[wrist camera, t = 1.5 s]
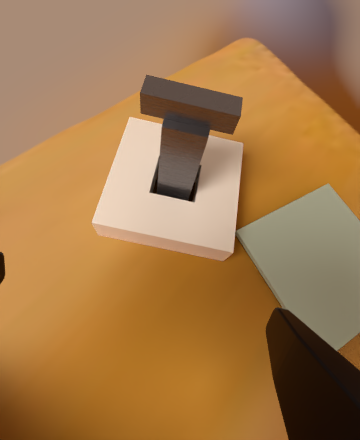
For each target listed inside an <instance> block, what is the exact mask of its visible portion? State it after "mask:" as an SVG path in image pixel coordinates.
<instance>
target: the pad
mask: <svg viewBox="0 0 360 440" xmlns="http://www.w3.org/2000/svg"><path fill="white" fill-rule="evenodd" d="M235 235H236V236H237V238H238V239H239V241H240V242H241V244H242V245H243V247H244V249H245V250H246V252H247V253H248V255H249V256H250V258H251V259H252V261H253V262H254V264H255V266H256V267H257V269H258V270H259V272H260V273H261V275H262V276H263V278H264V280H265V281H266V283H267V284H268V286H269V287H270V289H271V290H272V292H273V294H274V295H275V297H276V298H277V300H278V301H279V303H280V304H281V306H282V308H283V309H287V310H289V311H291V312H292V313H293V314H294V315H295V316H296V317H298V318H299V319H300V320H301V321H302V322H303V323H305V324H306V325H307V326H308V327H309V328H310V329H312V330H313V331H314V332H315V333H316V334H317V335H319V336H320V337H321V338H322V339H323V340H325V341H326V342H327V343H328V344H329V345H330V346H332V347H333V348H334V349H335V350H336V351H338V350H339V349H340V348H341V347H343V346H344V345H345V344H346V343H347V342H349V341H350V340H351V339H352V338H354V337H355V336H356V335H357V334H359V333H360V221H359V219H358V218H357V217H356V216H355V215H354V213H353V212H352V211H351V210H350V209H349V207H348V206H347V205H346V204H345V203H344V201H343V200H342V199H341V198H340V197H339V196H338V194H337V193H336V192H335V191H334V190H333V188H332V187H331V186H330V185H329V184H326V185H324V186H322V187H320V188H319V189H317V190H315V191H313V192H311V193H309V194H307V195H305V196H303V197H301V198H299V199H297V200H295V201H293V202H291V203H289V204H287V205H285V206H283V207H281V208H280V209H278V210H276V211H274V212H272V213H270V214H268V215H266V216H264V217H262V218H260V219H258V220H256V221H254V222H252V223H250V224H248V225H246V226H244V227H242V228H241V229H239V230H237V231H236V232H235Z"/></svg>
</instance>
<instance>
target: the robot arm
mask: <svg viewBox="0 0 360 440" xmlns="http://www.w3.org/2000/svg"><path fill="white" fill-rule="evenodd" d="M4 277H5V263H4V255H3V253H2V252H0V284H1V283H2V281H3V279H4ZM266 337H267V343H268V350H269V356H270V363H271V369H272V375H273V380H274V384H275V389H276V393H277V396H278V400H279V404H280V408H281V412H282V416H283V420H284V423H285V427H286V431H287V435H288V439H289V440H360V370H359V369H357V368H356V367H355V366H354V365H353V364H351V363H350V362H349V361H348V360H347V359H346V358H344V357H343V356H342V355H341V354H340V353H339V352H337V351H336V350H335V349H334V348H333V347H332V346H330V345H329V344H328V343H327V342H326V341H325V340H323V339H322V338H321V337H320V336H319V335H317V334H316V333H315V332H314V331H313V330H312V329H310V328H309V327H308V326H307V325H306V324H305V323H303V322H302V321H301V320H300V319H299V318H298V317H296V316H295V315H294V314H293V313H292V312H291V311H289V310H287V309H283V308H275V309H274V310H273V312H272V315H271V317H270V319H269V321H268V323H267V326H266Z"/></svg>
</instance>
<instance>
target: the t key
mask: <svg viewBox="0 0 360 440" xmlns="http://www.w3.org/2000/svg"><path fill="white" fill-rule="evenodd" d="M242 99H243V98H242V97H238V96H233V95H229V94H225V93H221V92H217V91H212V90H208V89H204V88H200V87H196V86H191V85H187V84H183V83H179V82H175V81H170V80H166V79H162V78H157V77H154V76H149V75H146V78H145V81H144V83H143V87H142V89H141V92H140V106H141V114H145V115H150V116H154V117H158V118H163V119H164V120H163V124H162V129H161V143H160V157H159V170H158V184H157V194H158V195H163V196H167V197H172V198H176V199H181V200H186V201H188V199H189V196H190V193H191V190H192V187H193V184H194V181H195V177H196V174H197V171H198V168H199V165H200V162H201V159H202V156H203V153H204V150H205V147H206V144H207V141H208V137H209V131H210V130H214V131H219V132H223V133H227V134H232V135H233V133H234V130H235V128H236V126H237V124H238V121H239V119H240V117H241V108H242Z"/></svg>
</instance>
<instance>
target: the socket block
mask: <svg viewBox="0 0 360 440" xmlns="http://www.w3.org/2000/svg"><path fill="white" fill-rule="evenodd" d="M161 129H162V124H158V123H154V122H150V121H145V120H141V119H137V118H132V117H129V120H128V123H127V126H126V128H125V131H124V134H123V137H122V140H121V142H120V145H119V148H118V151H117V153H116V156H115V159H114V162H113V165H112V167H111V170H110V173H109V176H108V178H107V181H106V184H105V187H104V190H103V192H102V195H101V198H100V201H99V203H98V206H97V209H96V212H95V215H94V217H93V220H92V225H93V226H94V228H95V230H96V232H97V234H98V235H100V236H105V237H110V238H114V239H119V240H124V241H129V242H134V243H138V244H143V245H148V246H153V247H157V248H162V249H167V250H172V251H176V252H181V253H186V254H191V255H195V256H200V257H205V258H210V259H214V260H219V261H224V260H225V259H227V258H228V257H229V256H230V255H231V254H233V251H234V241H235V230H236V219H237V208H238V197H239V186H240V175H241V164H242V153H243V143H241V142H236V141H232V140H228V139H223V138H219V137H215V136H210V135H209V137H208V141H207V144H206V147H205V150H204V153H203V156H202V159H201V162H200V165H199V168H198V171H197V174H196V177H195V182H196V185H195V190H194V196H193V201H192V202H190V201H186V200H181V199H176V198H172V197H167V196H163V195H158V194H154V193H153V190H154V186H155V182H156V178H157V175H158V170H159V157H160V143H161Z"/></svg>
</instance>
